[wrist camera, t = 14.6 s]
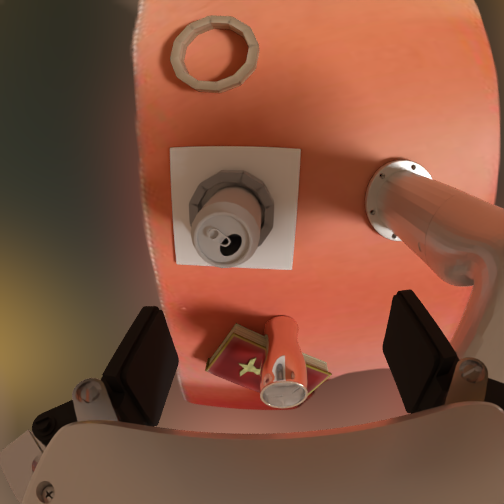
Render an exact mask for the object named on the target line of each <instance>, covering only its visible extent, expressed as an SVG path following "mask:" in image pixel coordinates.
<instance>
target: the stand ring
mask: <svg viewBox="0 0 504 504" xmlns="http://www.w3.org/2000/svg"><path fill="white" fill-rule="evenodd" d="M211 29H230V30H232V31H234V32H236V33H237V34H239V35H241V36H242V37H244V39H245V41H246V43H247V45H248V47H249V49H248V54H247V59H246V62H245V63H244V65H243V66H242V67H241V68H240V69H239V70H238V71H237V72H236V73H235V74H234V75H233V76H230V77H227V78H225V79H222V80H220V81H217V82H211V81H198V80H196V79H195V78H193V77H192V76H190V75H189V73H188V71H187V68H186V66H185V63H184V59H185V54H186V49H187V46H188V45H189V44H190V43H191V42H192V41H193V40H194V39H195V38H196V36H197V35H199V34H201V33H204V32H206V31H209V30H211ZM258 55H259V44H258V42H257V40H256V38H255V36H254V34H253V31H252V29H251V28H250V27H249V26H248V25H246V24H244V23H243V22H241V21H239V20H237V19H236V18H234V17H231V16H207V17H205V18H202V19H200V20H198V21H195V22H193V23H190V24H189V25H187V27H186V28H185V29H184V30H183V31H182V32H181V33H180V34H179V35H178V36H177V38H176V39H175V41H174V43H173V47H172V52H171V56H170V61H171V64H172V66H173V69H174V71H175V74H176V76H177V77H178V78H179V79H180V80H182V81H183V82H185V83H186V84H188V85H189V86H191V87H192V88H194V89H195V90H197V91H199V92H212V93H222V92H225V91H227V90H230V89H233V88H235V87H238V86H241V85H242V84H243V83H244V82H245V81H246V80H247V78H248V77H249V76H250V75H251V74H252V73H253V72H254V71H255V69H256V66H257V61H258ZM240 84H241V85H240Z"/></svg>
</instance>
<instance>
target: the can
mask: <svg viewBox="0 0 504 504" xmlns="http://www.w3.org/2000/svg"><path fill="white" fill-rule="evenodd" d="M261 216H262V212H261V205H260V203H259V200H258V198H257V197H256V196H255V195H254V194H253V192H252V191H250V190H248V189H246V188H245V187H241V186H236V185H234V186H226V187H224V188H222V189H220V190H218V191H217V192H216V193H215V194H214V195H213V196H212V197H211V198H210V199H209V201H208V202H207V203H206V204H205V205H204V207H203V208H202V209H201V210H200V211H199V212H198V214H197V215H196V217H195V219H194V221H193V223H192V228H191V238H192V243H193V245H194V247H195V249H196V251H197V253H198V255H199V256H200V257H201V258H202V259H203V260H204V261H205V262H207V263H209V264H211V265H212V266H215V267H220V268H231V267H234V266H237V265H240V264H242V263H244V262H246V261H247V260H248V259H250V258H251V257H252V256H253V254H254V253H255V251H256V250H257V247H258V243H259V239H260V229H261Z"/></svg>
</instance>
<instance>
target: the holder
mask: <svg viewBox="0 0 504 504" xmlns="http://www.w3.org/2000/svg"><path fill="white" fill-rule="evenodd" d="M300 156H301V149H295V148H279V147H253V146H197V147H172V148H170V173H171V197H172V214H173V229H174V241H175V253H176V263H177V264H182V265H200V266H212V265H211V264H209V263H207V262H205V261H204V260H203V259H202V258H201V257H200V256H199V255H198V253H197V251H196V249H195V247H194V245H193V243H192V238H191V228H192V223H193V221H194V219H195V217H196V215H197V214H198V212H199V211H200V210H201V209H202V208H203V207H204V205H205V204H206V203H207V202H208V201H209V199H210V198H211V197H212V196H213V195H214V194H215V193H216V192H217V191H218V190H220V189H222V188H224V187H226V186H234V185H236V186H241V187H245V188H246V189H248V190H250V191H252V192H253V194H254V195H255V196H256V197H257V198H258V200H259V203H260V205H261V212H262V216H261V229H260V239H259V243H258V247H257V250H256V251H255V253H254V254H253V256H252V257H251V258H250V259H248V260H247V261H246V262H244V263H242V264H240V265H237V266H234V267H239V268H261V269H284V270H292V263H293V252H294V241H295V230H296V217H297V204H298V189H299V173H300Z"/></svg>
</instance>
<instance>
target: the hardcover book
mask: <svg viewBox="0 0 504 504" xmlns="http://www.w3.org/2000/svg"><path fill="white" fill-rule="evenodd" d="M265 347H266V337H265V336H263V335H260V334H258V333H256V332H254V331H252V330H250V329H247V328H245V327H243V326H241V325H239V324H237V323H236V324H235V326H234V327H233V328H232V330H231V331H230V333H229V334H228V335H227V337H226V338H225V340H224V341H223V342H222V344H221V345H220V346H219V348H218V349H217V351H216V352H215V353H214V355H213V356H212V357H211V359H210V358H208V361H207V364H206V369H205V371H207V372H209V373H211V374H214V375H216V376H218V377H221V378H223V379H226V380H228V381H231V382H233V383H236V384H238V385H241V386H243V387H246V388H249V389H251V390H254V391H257V392H260V366H261V361H262V357H263V354H264V350H265ZM302 354H303V357H304V360H305V363H306V369H307V382H308V387H307V388H308V395H309V394H310V393H311V392H313V391H314V390H315V389H316V388H317V387H318V386H319V385H321V384H322V383H323V382H324V381H325V380H326V379H327V378H328V377H330V376H331V375H332V373H330V372H328V368H327V363H326V362H324V361H321V360H319V359H316V358H314V357H311V356H309V355H307V354H304V353H302Z"/></svg>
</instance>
